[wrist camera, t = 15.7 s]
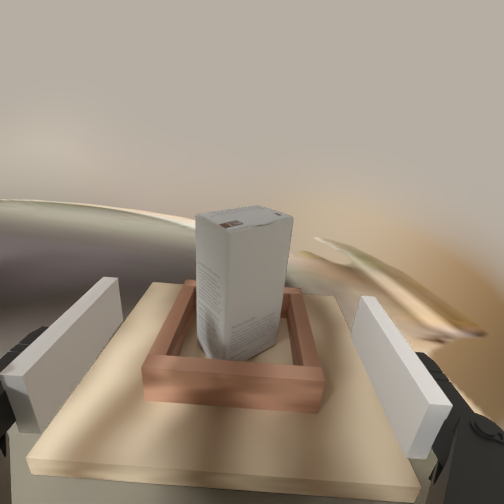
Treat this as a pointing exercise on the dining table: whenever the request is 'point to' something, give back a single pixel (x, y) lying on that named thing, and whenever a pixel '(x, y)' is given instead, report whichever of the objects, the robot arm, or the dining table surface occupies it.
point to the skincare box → (240, 280)
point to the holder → (229, 409)
